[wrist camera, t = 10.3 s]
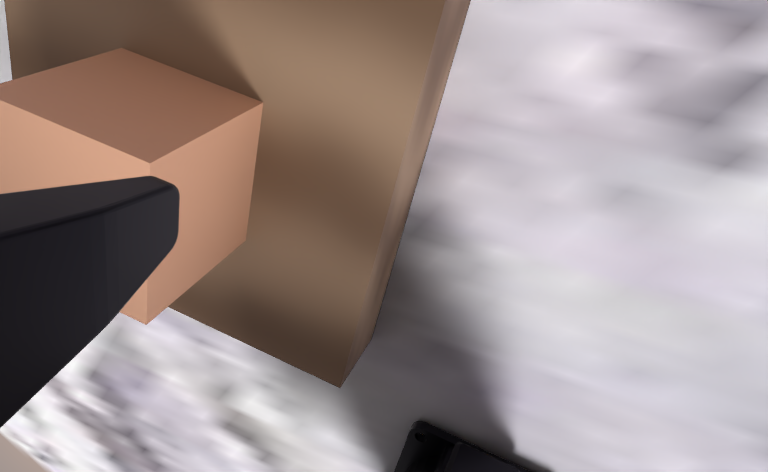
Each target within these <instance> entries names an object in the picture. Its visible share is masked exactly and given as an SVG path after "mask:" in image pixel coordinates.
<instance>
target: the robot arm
mask: <svg viewBox="0 0 768 472" xmlns="http://www.w3.org/2000/svg"><path fill="white" fill-rule="evenodd" d="M179 206H180V193H179V190H178V188H177V187H176V186H175V185H174V184H172V183H169V182H167V181H165V180H162V179H160V178H157V177H154V176H142V177H134V178H126V179H118V180H110V181H101V182H93V183H85V184H77V185H69V186H60V187H52V188H44V189H36V190H28V191H20V192H11V193H3V194H0V428H1V427H2V426H3V425H4V424H5V423H6V422H7V421H8V420H9V419H10V418H11V417H12V416H13V415H14V414H15V413H16V412H18V411H19V410H20V409H21V408H22V407H23V406H24V405H25V404H26V403H27V402H28V401H29V400H30V399H31V398H32V397H33V396H34V395H35V394H36V393H37V392H38V391H39V390H41V389H42V388H43V387H44V386H45V385H46V384H47V383H48V382H49V381H50V380H51V379H52V378H53V377H54V376H55V375H56V374H57V373H58V372H59V371H60V370H61V369H62V368H64V367H65V366H66V365H67V364H68V363H69V362H70V361H71V360H72V359H73V358H74V357H75V356H76V355H77V354H78V353H79V352H80V351H81V350H82V349H83V348H84V347H85V346H86V345H88V344H89V343H90V342H91V341H92V340H93V339H94V338H95V337H96V336H97V335H98V334H99V333H100V332H101V331H102V330H103V329H104V328H105V327H106V326H107V325H108V324H109V323H110V322H111V321H112V319H113V318H114V317H115V316H116V315H117V314H118V313H119V312H120V311H121V309H122V308H123V307H124V306H125V305H126V303H127V302H128V301H129V300H130V299H131V297H132V296H133V295H134V294H135V293H136V292H137V290H138V289H139V288H140V287H141V286H142V284H143V283H144V282H145V281H146V280H147V279H148V277H149V276H150V275H151V274H152V273H153V271H154V270H155V269H156V268H157V267H158V265H159V264H160V263H161V262H162V261H163V260H164V258H165V257H166V256H167V255H168V254H169V252H170V251H171V250H172V249H173V247H174V245H175V243H176V241H177V238H178V232H179ZM421 433H422V434H424V435H422V434H421ZM394 472H530V471H528V470H526V469H524V468H522V467H520V466H518V465H516V464H513V463H511V462H509V461H507V460H505V459H503V458H501V457H499V456H496V455H494V454H492V453H490V452H488V451H486V450H484V449H482V448H479V447H477V446H475V445H473V444H471V443H469V442H467V441H465V440H462V439H460V438H458V437H456V436H454V435H452V434H450V433H448V432H445V431H443V430H441V429H439V428H437V427H435V426H433V425H431V424H428V423H426V422H423V421H417V422H415V423H414V424H413V425H412V428H411V430H410V432H409V435H408V437H407V440H406V442H405V445H404V448H403V450H402V453H401V456H400V458H399V461H398V463H397V466H396V469H395V471H394Z"/></svg>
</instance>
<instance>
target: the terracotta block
mask: <svg viewBox="0 0 768 472" xmlns="http://www.w3.org/2000/svg"><path fill="white" fill-rule="evenodd" d="M262 109H263V102H261V101H258V100H256V99H253V98H250V97H248V96H245V95H243V94H240V93H237V92H235V91H232V90H230V89H227V88H224V87H222V86H219V85H217V84H214V83H212V82H209V81H206V80H204V79H201V78H199V77H196V76H193V75H191V74H188V73H186V72H183V71H180V70H178V69H175V68H173V67H170V66H167V65H165V64H162V63H160V62H157V61H154V60H152V59H149V58H147V57H144V56H141V55H139V54H136V53H134V52H131V51H128V50H126V49H123V48H119V49H116V50H113V51H109V52H106V53H102V54H99V55H96V56H92V57H89V58H85V59H82V60H79V61H75V62H72V63H69V64H65V65H62V66H58V67H55V68H52V69H48V70H45V71H41V72H38V73H35V74H31V75H28V76H25V77H21V78H18V79H14V80H11V81H8V82H4V83H1V84H0V194H3V193H11V192H20V191H28V190H36V189H44V188H52V187H60V186H69V185H77V184H85V183H93V182H101V181H110V180H118V179H126V178H134V177H142V176H154V177H157V178H160V179H162V180H165V181H167V182H169V183H172V184H174V185H175V186H176V187H177V188H178V190H179V193H180V206H179V232H178V238H177V241H176V243H175V245H174V247H173V249H172V250H171V251H170V252H169V254H168V255H167V256H166V257H165V258H164V260H163V261H162V262H161V263H160V264H159V265H158V267H157V268H156V269H155V270H154V271H153V273H152V274H151V275H150V276H149V277H148V279H147V280H146V281H145V282H144V283H143V284H142V286H141V287H140V288H139V289H138V290H137V292H136V293H135V294H134V295H133V296H132V297H131V299H130V300H129V301H128V302H127V303H126V305H125V306H124V307H123V308H122V309H121V311H120V312H121V313H123V314H125V315H127V316H129V317H131V318H133V319H135V320H137V321H139V322H141V323H144V324H146V325H147V324H148V323H149V322H150V321H151V320H153V319H154V318H155V317H156V316H157V315H158V314H160V313H161V312H162V311H163V310H164V309H166V308H167V307H168V306H169V305H170V304H171V303H173V302H174V301H175V300H176V299H177V298H179V297H180V296H181V295H182V294H183V293H184V292H186V291H187V290H188V289H189V288H190V287H191V286H193V285H194V284H195V283H196V282H197V281H199V280H200V279H201V278H202V277H203V276H204V275H206V274H207V273H208V272H209V271H210V270H211V269H213V268H214V267H215V266H216V265H217V264H219V263H220V262H221V261H222V260H223V259H224V258H226V257H227V256H228V255H229V254H230V253H232V252H233V251H234V250H235V249H236V248H237V247H239V246H240V245H241V244H242V243H243V242H244V241H246V234H247V226H248V219H249V211H250V203H251V195H252V187H253V179H254V171H255V164H256V156H257V148H258V140H259V132H260V124H261V117H262Z"/></svg>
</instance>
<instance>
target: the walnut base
mask: <svg viewBox="0 0 768 472" xmlns="http://www.w3.org/2000/svg"><path fill="white" fill-rule="evenodd" d="M4 1H5V11H6V21H7V30H8V40H9V50H10V59H11V69H12V79H13V80H14V79H18V78H21V77H25V76H28V75H31V74H35V73H38V72H41V71H45V70H48V69H52V68H55V67H58V66H62V65H65V64H69V63H72V62H75V61H79V60H82V59H85V58H89V57H92V56H96V55H99V54H102V53H106V52H109V51H113V50H116V49H119V48H123V49H126V50H128V51H131V52H134V53H136V54H139V55H141V56H144V57H147V58H149V59H152V60H154V61H157V62H160V63H162V64H165V65H167V66H170V67H173V68H175V69H178V70H180V71H183V72H186V73H188V74H191V75H193V76H196V77H199V78H201V79H204V80H206V81H209V82H212V83H214V84H217V85H219V86H222V87H224V88H227V89H230V90H232V91H235V92H237V93H240V94H243V95H245V96H248V97H250V98H253V99H256V100H258V101H261V102H263V109H262V117H261V124H260V132H259V140H258V148H257V156H256V164H255V171H254V179H253V187H252V195H251V203H250V211H249V219H248V226H247V234H246V241H244V242H243V243H242V244H241V245H240V246H239V247H237V248H236V249H235V250H234V251H233V252H232V253H230V254H229V255H228V256H227V257H226V258H224V259H223V260H222V261H221V262H220V263H219V264H217V265H216V266H215V267H214V268H213V269H211V270H210V271H209V272H208V273H207V274H206V275H204V276H203V277H202V278H201V279H200V280H199V281H197V282H196V283H195V284H194V285H193V286H191V287H190V288H189V289H188V290H187V291H186V292H184V293H183V294H182V295H181V296H180V297H179V298H177V299H176V300H175V301H174V302H173V303H171V304H170V305H169V306H168V307H170V308H172V309H174V310H176V311H178V312H180V313H182V314H184V315H186V316H189V317H191V318H193V319H195V320H197V321H199V322H201V323H203V324H206V325H208V326H210V327H212V328H214V329H216V330H218V331H220V332H222V333H225V334H227V335H229V336H231V337H233V338H235V339H237V340H239V341H242V342H244V343H246V344H248V345H250V346H252V347H254V348H256V349H258V350H261V351H263V352H265V353H267V354H269V355H271V356H273V357H275V358H278V359H280V360H282V361H284V362H286V363H288V364H290V365H292V366H294V367H297V368H299V369H301V370H303V371H305V372H307V373H309V374H311V375H314V376H316V377H318V378H320V379H322V380H324V381H326V382H328V383H331V384H333V385H335V386H337V387H339V388H340V387H341V386H342V384H343V383H344V381H345V379H346V378H347V376H348V375H349V373H350V372H351V370H352V369H353V367H354V365H355V364H356V362H357V361H358V359H359V358H360V356H361V355H362V353H363V351H364V350H365V348H366V347H367V345H368V344H369V342H370V340H371V338H372V335H373V332H374V328H375V325H376V321H377V318H378V315H379V311H380V308H381V304H382V301H383V297H384V294H385V291H386V287H387V284H388V280H389V277H390V274H391V270H392V267H393V263H394V260H395V257H396V253H397V250H398V246H399V243H400V239H401V236H402V233H403V229H404V226H405V222H406V219H407V216H408V212H409V209H410V205H411V202H412V199H413V195H414V192H415V188H416V185H417V182H418V178H419V175H420V171H421V168H422V164H423V161H424V158H425V154H426V151H427V147H428V144H429V141H430V137H431V134H432V130H433V127H434V124H435V120H436V117H437V113H438V110H439V106H440V103H441V100H442V96H443V93H444V89H445V86H446V83H447V79H448V76H449V72H450V69H451V66H452V62H453V59H454V55H455V52H456V48H457V45H458V42H459V38H460V35H461V31H462V28H463V25H464V21H465V18H466V14H467V11H468V8H469V4H470V1H471V0H4Z"/></svg>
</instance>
